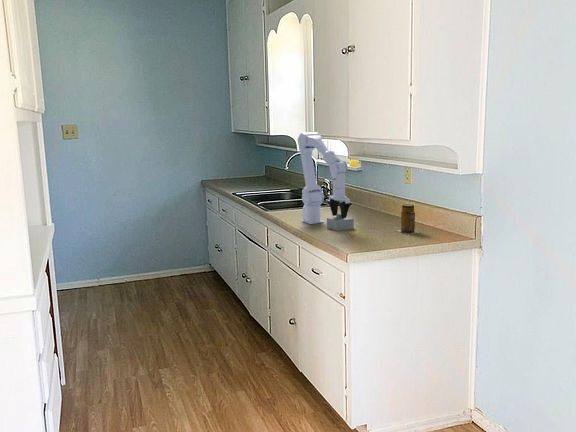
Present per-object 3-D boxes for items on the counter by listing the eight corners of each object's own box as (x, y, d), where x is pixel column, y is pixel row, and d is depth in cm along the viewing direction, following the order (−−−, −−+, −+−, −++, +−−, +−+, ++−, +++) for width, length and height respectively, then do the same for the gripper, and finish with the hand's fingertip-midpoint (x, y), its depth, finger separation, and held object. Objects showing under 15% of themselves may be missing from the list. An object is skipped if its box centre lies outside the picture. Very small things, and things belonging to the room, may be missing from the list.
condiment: (411, 229, 258) (411, 203, 256) (420, 233, 250) (420, 206, 248) (396, 230, 256) (396, 204, 254) (405, 234, 248) (405, 207, 246)
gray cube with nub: (326, 227, 267) (326, 213, 266) (342, 225, 271) (342, 211, 270) (337, 231, 259) (337, 216, 258) (353, 228, 263) (353, 214, 262)
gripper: (355, 188, 257) (355, 218, 260) (337, 185, 270) (337, 213, 272) (342, 190, 254) (342, 219, 256) (324, 186, 266) (325, 215, 269)
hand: (339, 216), depth 264 cm, fingers open, 7 cm apart
